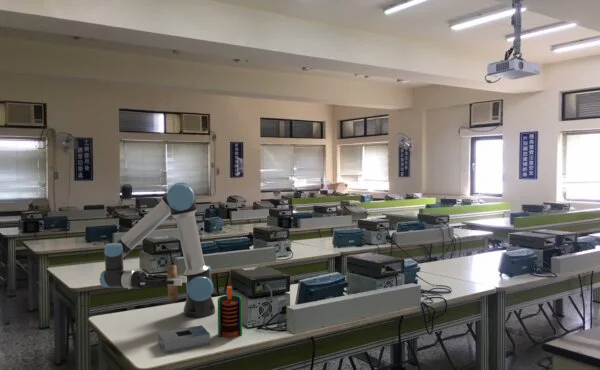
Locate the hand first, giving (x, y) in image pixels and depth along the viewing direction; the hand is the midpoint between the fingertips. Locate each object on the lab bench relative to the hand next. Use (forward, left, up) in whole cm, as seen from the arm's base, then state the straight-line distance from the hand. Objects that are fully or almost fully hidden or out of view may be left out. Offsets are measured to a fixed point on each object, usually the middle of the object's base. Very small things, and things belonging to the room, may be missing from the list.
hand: (183, 280), depth 207 cm
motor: (-16, +11, -23) cm, 30 cm away
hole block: (+4, +13, -23) cm, 26 cm away
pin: (+4, -3, -9) cm, 10 cm away
